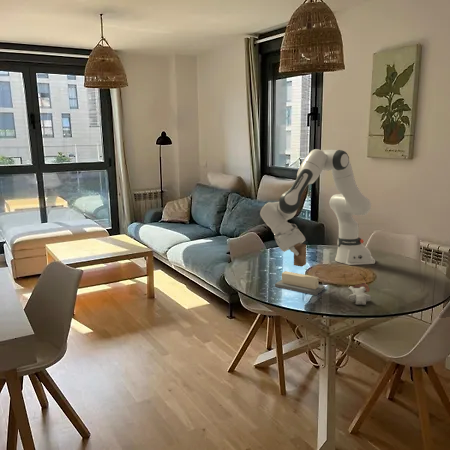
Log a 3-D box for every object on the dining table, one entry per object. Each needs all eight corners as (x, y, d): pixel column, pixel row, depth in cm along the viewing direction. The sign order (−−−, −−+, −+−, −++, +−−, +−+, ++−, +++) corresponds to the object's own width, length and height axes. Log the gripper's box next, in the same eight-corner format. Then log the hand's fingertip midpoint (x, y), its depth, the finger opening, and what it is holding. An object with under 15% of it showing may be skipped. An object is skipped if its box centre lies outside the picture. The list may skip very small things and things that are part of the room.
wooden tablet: (371, 290, 210) (350, 287, 211) (371, 295, 210) (349, 292, 211) (362, 273, 236) (343, 270, 237) (361, 277, 236) (342, 274, 237)
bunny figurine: (350, 297, 194) (346, 282, 208) (349, 308, 196) (346, 292, 210) (372, 298, 193) (367, 282, 207) (372, 308, 194) (366, 292, 208)
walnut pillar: (293, 265, 215) (294, 245, 213) (297, 262, 219) (298, 243, 217) (301, 266, 213) (302, 246, 211) (305, 264, 216) (306, 244, 214)
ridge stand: (275, 286, 221) (275, 274, 219) (284, 280, 229) (284, 268, 227) (316, 295, 208) (316, 282, 207) (324, 288, 216) (325, 276, 215)
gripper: (277, 231, 208) (295, 254, 204) (296, 223, 224) (314, 244, 221) (268, 239, 211) (286, 262, 208) (288, 231, 228) (305, 252, 224)
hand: (301, 253), depth 214 cm, fingers closed on walnut pillar, 4 cm apart
